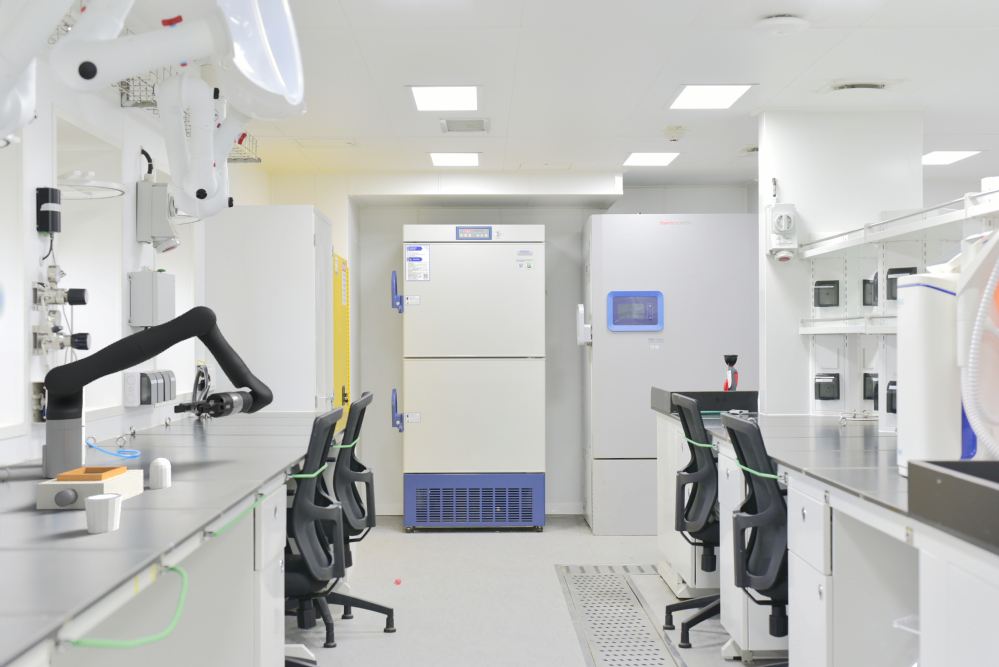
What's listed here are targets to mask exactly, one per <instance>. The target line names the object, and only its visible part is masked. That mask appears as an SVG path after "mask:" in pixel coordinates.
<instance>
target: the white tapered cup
mask: <svg viewBox="0 0 999 667" xmlns="http://www.w3.org/2000/svg"><path fill="white" fill-rule="evenodd" d="M122 502H123V501H122V495H121V494H113V493H110V494H99V495H94V496H90V497H86V498H85V508H86V509H85V517H86V524H87V525H86V526H87V527H86V528H87V533H89V534H106V533H110V532H114V531H116V530H117V531H118V530H119V528H120V520H121V509H122Z"/></svg>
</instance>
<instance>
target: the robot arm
mask: <svg viewBox="0 0 999 667" xmlns="http://www.w3.org/2000/svg"><path fill="white" fill-rule="evenodd" d="M217 321H218V320H217V315H216V313H215V311H213V309H211V308H209V306H203V305H199V306H195V307H193V308H191V309H189V310H188V311H186V312H183V313H182V314H181V315H178V316H176V317H174V318H173V319H171V320H169V321H166V322H164V323H161V324H157V325H155V326H151V327H149V328H145V329H143V330H142V329H141V330H140V331H138V332H137V331H136V332H134V333H133V334H130V335H127V336H125V337H122V338H121V339H119V340H118V339H117V341H114V342H112V343H111V344H108V345H107V346H105V347H103V348H102V349H100V350H97V351H96V352H94V353H93V354H90V355H88V356H86V357H83V358H81V359H77V360H74V361H71V362H68V363H64V364H61V365H58V366H54V367H53V368H51V369H50V370H49V371H48V372H47V373H46V374H45V376H44V380H43V383H44V388H45V389H46V392H47V396H46V397H47V398H46V399H47V400H46V402H47V403H46V408H45V444H43V445H42V447H41V448H42V450H41V451H42V452H41V453H42V454H41V456H42V458H41V461H42V462H41V463H42V465H41V467H42V469H41V470H42V472H41V473H42V474H41V475H42V476H41V477H42V478H47V479H55V478H57V475H58V474H61V473H65V472H68V471H72V470H75V469H79V468H82V467H83V465H82V408H83V388H84V387H85V386H87V385H89V384H91V383H93V382H95V381H97V380H98V379H99V380H100V379H101V378H103V377H107V376H108V375H112V374H117V373H119V372H122V371H124V370H127V369H130V368H132V367H135V366H136V367H137V365H140V364H143V363H144V362H147V361H149V360H151V359H153V358H154V357H157V356H159V355H160V354H162V353H164V352H165V351H167V350H168V349H170V348H171V347H173V346H175V345H176V344H179V343H180V342H183V341H186V340H189V339H191V338H195V337H196V338H197V339H198V340H199V341H201V342H202V344H203V345H204V346H205V348H207V349H208V351H209V352H210V353H211V355H212V356H213V357H214V359H215V360H216V362H217V364H218V365H219V367H220V368H221V370H222V372H223V373H224V375H225V376H226V377H227V378H228V380H229V382H231V384H232V385H233V387H234V388H236V389H237V390H238V389H243V388H248V389H249V390H250V391H245V390H238V391H237V390H236V391H224V392H215V393H211V394H210V395H207V397H206V399H202V400H198V401H195V400H194V401H191V402H184V403H183V402H180V403H178V404H176V405H174V406H173V412H174V414H181V413H185V414H186V413H191V414H207V415H209V416H210V417H211V418H215V419H218V418H224V417H229V416H233V415H236V414H241V413H242V414H243V413H244V414H249V415H250V414H254V413H257V412H258V411H260V410H262V409H263V408H266V407H267V406H269V405H270V404H272V403H273V401H274V394H273V391H272V389H271V388H270V387H269V386H268V385H267V384H265V383H264V382H263V381H261V380H260V379H259V377H257V376H256V375H255V374H253V373H252V371H251V370H250V368H249V367H248V366H247V364H246V363H245V360H243V359H242V357H241V356H240V354H238V352H237V351H235V349H234V348H233V347H232V346H231V344H229V342H228V341H227V339H226V338H225V336H224V335H223V333H222V332H221V329H220V328H219V326H218V324H217Z"/></svg>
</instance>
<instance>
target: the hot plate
mask: <svg viewBox="0 0 999 667" xmlns="http://www.w3.org/2000/svg"><path fill="white" fill-rule="evenodd" d="M127 467H128V466H82V468H79V469H75V470H72V471H68V472H65V473H61V474H58V475H57V478H51V479H49V480H46V481H42V482H39V483H36V510H86V508H85V498H86V497H90V496H94V495H99V494H110V493H113V494H121V495H122V501H121V502H124V501H125V500H129V499H131V498H134V497H136V496H138V495H141V494H143V493H144V469H127Z"/></svg>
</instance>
